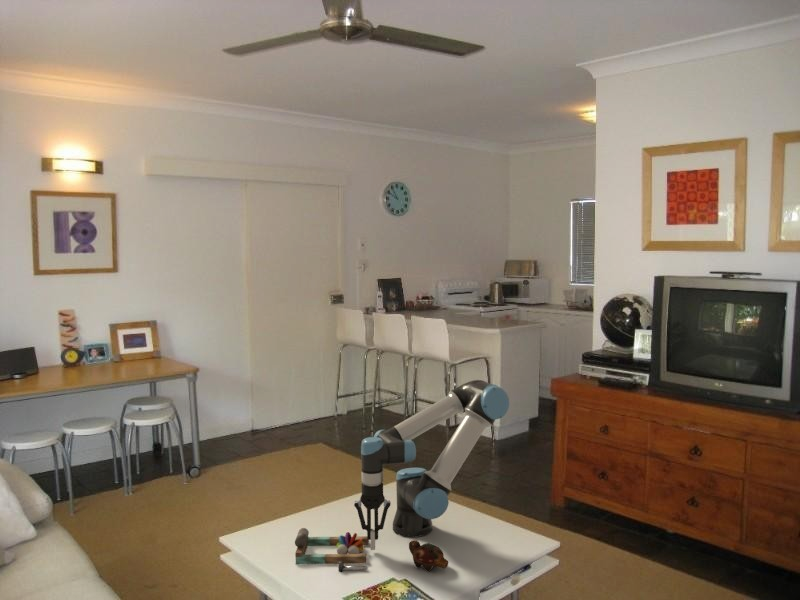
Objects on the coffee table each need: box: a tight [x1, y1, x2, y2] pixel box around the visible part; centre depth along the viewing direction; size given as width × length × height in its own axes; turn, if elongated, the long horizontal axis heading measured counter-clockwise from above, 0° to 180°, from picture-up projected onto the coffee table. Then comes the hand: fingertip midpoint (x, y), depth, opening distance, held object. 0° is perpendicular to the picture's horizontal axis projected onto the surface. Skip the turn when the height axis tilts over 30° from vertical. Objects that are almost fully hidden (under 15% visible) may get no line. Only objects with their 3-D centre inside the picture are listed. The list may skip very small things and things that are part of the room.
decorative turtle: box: [408, 539, 449, 572], centre depth 224 cm, size 10×15×8 cm, turn 60°
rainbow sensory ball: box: [336, 531, 364, 554], centre depth 236 cm, size 8×10×7 cm
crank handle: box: [337, 561, 369, 573], centre depth 222 cm, size 10×2×3 cm, turn 89°
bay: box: [294, 527, 370, 565], centre depth 235 cm, size 25×16×8 cm, turn 89°
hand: (372, 548), depth 235 cm, fingers closed
